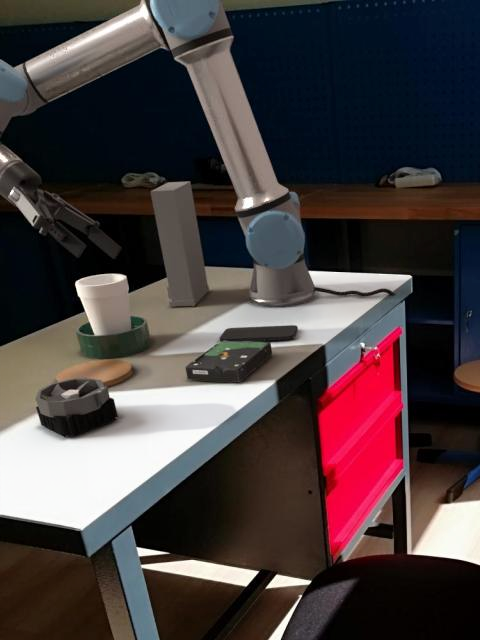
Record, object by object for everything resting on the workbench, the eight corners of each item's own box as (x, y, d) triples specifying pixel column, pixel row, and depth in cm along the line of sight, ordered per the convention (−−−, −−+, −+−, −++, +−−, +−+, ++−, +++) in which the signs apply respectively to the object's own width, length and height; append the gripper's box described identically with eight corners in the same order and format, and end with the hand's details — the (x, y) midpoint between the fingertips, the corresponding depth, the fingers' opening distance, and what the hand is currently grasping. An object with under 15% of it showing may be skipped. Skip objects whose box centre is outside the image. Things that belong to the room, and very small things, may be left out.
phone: (226, 327, 156) (298, 324, 155) (227, 331, 157) (298, 328, 156) (218, 339, 150) (292, 336, 149) (218, 343, 150) (293, 340, 149)
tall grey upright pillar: (184, 292, 187) (164, 182, 174) (209, 291, 187) (190, 181, 174) (169, 307, 175) (146, 191, 162) (195, 306, 175) (174, 190, 162)
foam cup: (126, 354, 147) (110, 286, 140) (83, 353, 148) (65, 286, 142) (148, 338, 155) (134, 273, 148) (107, 337, 156) (92, 273, 150)
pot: (163, 337, 156) (158, 315, 153) (129, 359, 145) (124, 336, 142) (105, 335, 159) (99, 314, 156) (68, 357, 148) (62, 334, 145)
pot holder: (145, 365, 141) (144, 360, 141) (108, 391, 130) (106, 386, 130) (83, 363, 144) (82, 358, 144) (42, 388, 133) (40, 383, 133)
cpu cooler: (23, 391, 116) (83, 371, 123) (34, 425, 119) (92, 404, 126) (56, 406, 110) (117, 385, 117) (66, 442, 113) (126, 419, 120)
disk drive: (241, 385, 131) (273, 354, 143) (238, 369, 129) (271, 340, 141) (186, 382, 133) (222, 352, 145) (183, 366, 132) (220, 338, 144)
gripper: (40, 200, 156) (121, 269, 158) (-43, 187, 132) (54, 267, 134) (58, 169, 154) (140, 239, 155) (-23, 149, 130) (75, 232, 132)
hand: (100, 252), depth 145 cm, fingers open, 13 cm apart
